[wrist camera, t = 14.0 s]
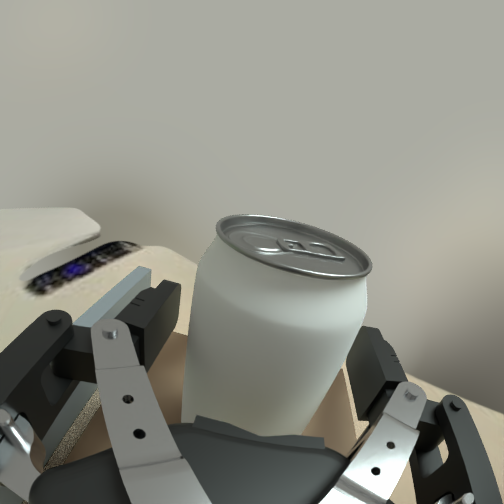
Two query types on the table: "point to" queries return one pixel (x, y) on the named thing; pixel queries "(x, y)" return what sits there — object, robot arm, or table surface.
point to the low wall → (108, 307)
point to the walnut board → (170, 402)
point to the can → (271, 323)
